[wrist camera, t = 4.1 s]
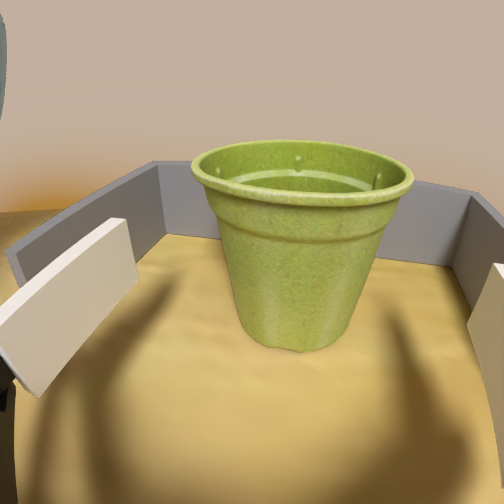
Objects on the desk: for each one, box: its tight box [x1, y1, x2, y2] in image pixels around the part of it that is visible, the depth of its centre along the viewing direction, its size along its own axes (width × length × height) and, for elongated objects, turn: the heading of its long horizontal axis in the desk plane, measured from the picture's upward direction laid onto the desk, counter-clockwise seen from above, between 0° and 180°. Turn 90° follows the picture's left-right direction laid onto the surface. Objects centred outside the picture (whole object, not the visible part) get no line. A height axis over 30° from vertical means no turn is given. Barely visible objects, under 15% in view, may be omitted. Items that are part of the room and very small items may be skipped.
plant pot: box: [191, 140, 414, 352], centre depth 15 cm, size 9×9×9 cm
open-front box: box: [5, 161, 504, 312], centre depth 16 cm, size 26×15×6 cm, turn 76°
